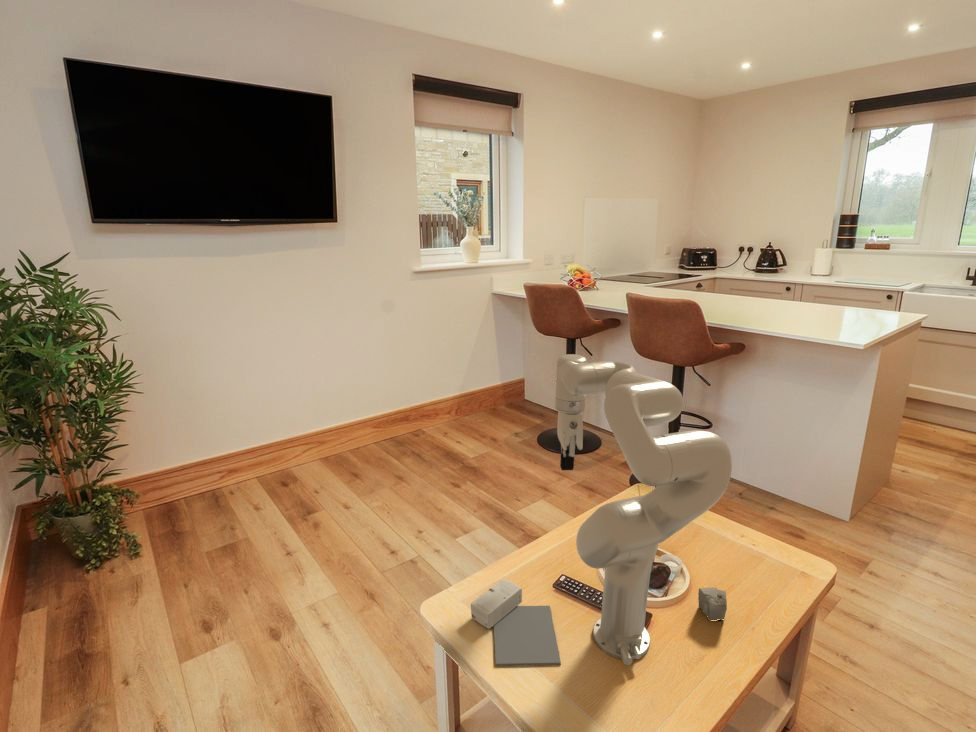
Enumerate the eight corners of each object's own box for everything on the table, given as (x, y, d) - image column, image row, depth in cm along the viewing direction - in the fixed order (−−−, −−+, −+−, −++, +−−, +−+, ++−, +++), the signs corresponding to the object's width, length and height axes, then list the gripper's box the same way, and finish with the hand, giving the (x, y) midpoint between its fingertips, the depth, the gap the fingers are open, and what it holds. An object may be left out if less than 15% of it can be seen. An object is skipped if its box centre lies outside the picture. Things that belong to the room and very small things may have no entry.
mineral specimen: (685, 605, 129) (695, 577, 127) (717, 609, 130) (727, 581, 128) (700, 627, 122) (711, 598, 120) (734, 631, 123) (744, 602, 121)
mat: (560, 664, 113) (560, 662, 112) (495, 666, 112) (495, 663, 112) (549, 607, 129) (549, 605, 129) (492, 608, 128) (493, 606, 128)
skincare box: (522, 587, 128) (489, 613, 120) (522, 602, 129) (489, 630, 121) (503, 577, 132) (469, 602, 124) (503, 592, 134) (470, 618, 125)
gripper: (592, 413, 125) (587, 482, 131) (578, 393, 140) (574, 455, 145) (561, 414, 125) (558, 483, 130) (550, 393, 139) (547, 456, 144)
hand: (566, 468), depth 137 cm, fingers closed
